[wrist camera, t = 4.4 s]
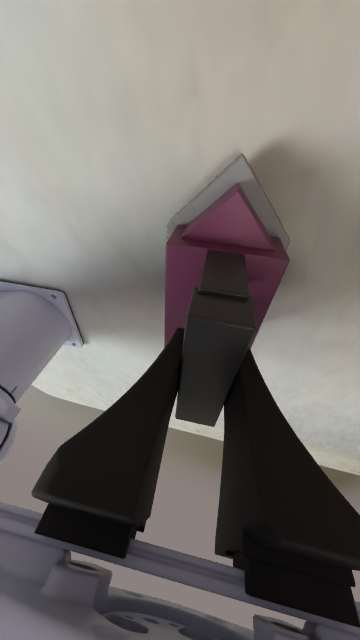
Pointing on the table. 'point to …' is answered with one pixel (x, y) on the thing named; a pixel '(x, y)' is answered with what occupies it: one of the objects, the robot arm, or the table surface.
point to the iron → (220, 284)
